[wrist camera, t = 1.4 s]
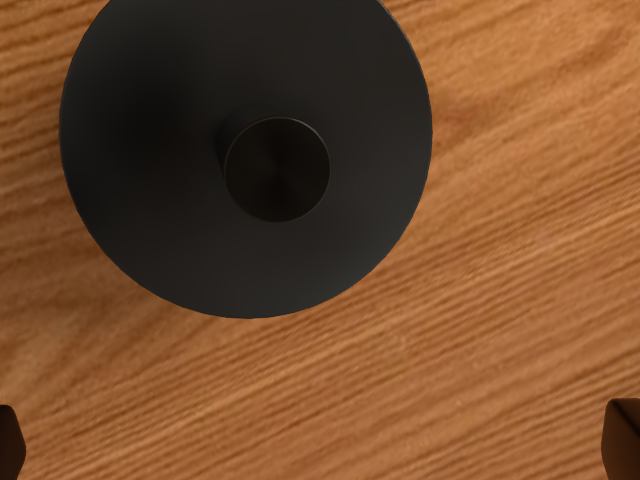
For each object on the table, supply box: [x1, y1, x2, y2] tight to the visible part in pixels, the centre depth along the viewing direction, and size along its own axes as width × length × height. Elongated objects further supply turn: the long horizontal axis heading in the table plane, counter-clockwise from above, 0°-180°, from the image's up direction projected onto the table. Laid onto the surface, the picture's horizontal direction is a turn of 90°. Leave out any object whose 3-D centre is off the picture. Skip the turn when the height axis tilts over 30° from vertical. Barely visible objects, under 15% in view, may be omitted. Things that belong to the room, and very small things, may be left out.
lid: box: [59, 0, 433, 319], centre depth 15 cm, size 11×11×5 cm
